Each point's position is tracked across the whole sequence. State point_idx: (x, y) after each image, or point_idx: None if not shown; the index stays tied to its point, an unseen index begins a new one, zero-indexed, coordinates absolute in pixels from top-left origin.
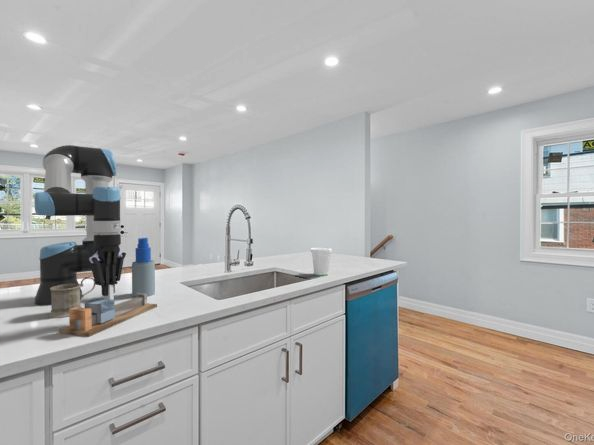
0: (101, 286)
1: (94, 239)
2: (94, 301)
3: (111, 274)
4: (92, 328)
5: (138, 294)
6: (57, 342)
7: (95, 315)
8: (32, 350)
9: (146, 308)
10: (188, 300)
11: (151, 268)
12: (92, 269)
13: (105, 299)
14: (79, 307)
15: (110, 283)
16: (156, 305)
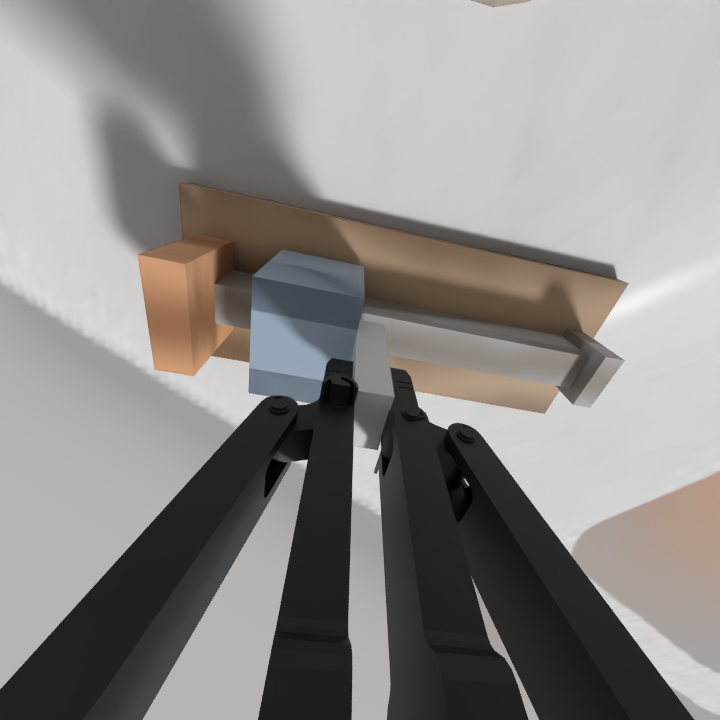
0: (319, 398)
1: None
2: (293, 320)
3: (386, 520)
4: (233, 333)
5: (596, 368)
6: (114, 267)
7: None
8: (21, 227)
9: (484, 401)
10: (601, 475)
11: None
12: (120, 570)
13: (342, 358)
14: (187, 295)
15: (383, 435)
16: (538, 409)
